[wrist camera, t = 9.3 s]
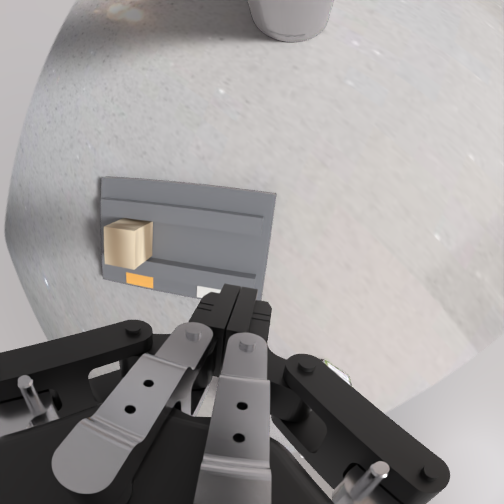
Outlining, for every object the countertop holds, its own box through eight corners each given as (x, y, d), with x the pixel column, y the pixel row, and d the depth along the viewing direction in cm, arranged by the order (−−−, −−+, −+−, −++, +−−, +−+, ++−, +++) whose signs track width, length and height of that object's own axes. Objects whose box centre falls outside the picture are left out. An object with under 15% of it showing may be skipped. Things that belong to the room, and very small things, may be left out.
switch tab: (153, 221, 35) (134, 231, 31) (152, 255, 37) (134, 269, 32) (124, 217, 36) (103, 226, 31) (124, 250, 37) (104, 263, 32)
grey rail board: (276, 193, 34) (275, 196, 32) (260, 303, 39) (258, 314, 36) (107, 176, 36) (95, 178, 33) (108, 275, 40) (97, 283, 37)
